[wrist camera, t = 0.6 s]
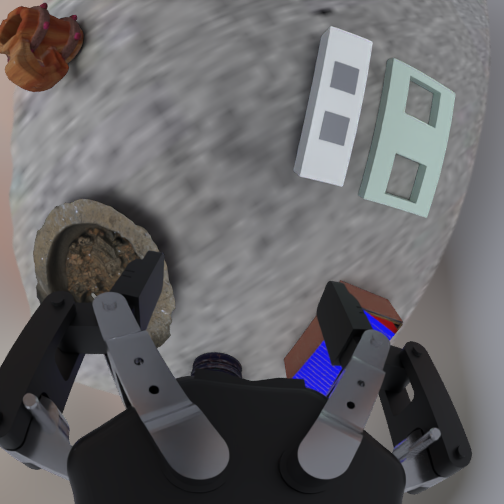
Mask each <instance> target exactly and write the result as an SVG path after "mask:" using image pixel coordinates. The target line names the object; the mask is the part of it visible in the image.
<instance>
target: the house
mask: <svg viewBox="0 0 504 504" xmlns="http://www.w3.org/2000/svg"><path fill="white" fill-rule="evenodd" d="M340 282H341V283H344V284H345V286H346V288H347V290H348V291H349V293H350V294H352V295H353V296H354V297H355V298H356V299H357V300H358V301H359V303H360V305H361V308H362V309H363V311H364V314H366V316H367V318H368V320H369V322H370V324H371V326H372V328H373V330H377V331H379V332H381V333H383V334H384V335H385V336H386V337H387V338H388V339H389V341H390V339H391V338H392V337H393V336H394V335H395V333H396V332H397V331H398V330H399V328H400V327H401V326H402V325H403V324H402V323H403V321H402V320H401V318H400V317H399V315H398V314H397V312H396V311H395V309H394V308H393V306H392V305H391V303H390V302H389V300H387V299H385V298H382V297H380V296H378V295H375V294H373V293H370V292H368V291H365V290H363V289H360V288H358V287H355V286H353V285H351V284H348V283H346V282H343V281H341V280H340ZM369 313H370V314H369ZM372 314H373V315H372ZM284 362H285V369H286V376H287V378H292V379H304V381H305V386H306V387H308V388H311V389H313V390H316V391H318V392H320V393H321V394H323V395H326V394H327V392H328V390H329V389H330V387H331V385H332V384H333V382H334V380H335V379H336V377H337V375H338V374H339V372H340V371H341V369H342V367H341V366H332V365H331V361H330V358H329V355H328V351H327V348H326V345H325V341H324V338H323V335H322V332H321V328H320V325H319V322H318V319H317V315H316V317H315V318H314V320H313V321H312V322H311V324H310V325H309V327H308V328H307V329H306V331H305V332H304V333H303V335H302V336H301V337H300V339H299V340H298V341H297V343H296V344H295V345H294V347H293V348H292V349H291V351H290V352H289V353H288V355H287V356H286V357H285V358H284Z"/></svg>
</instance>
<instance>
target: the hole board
mask: <svg viewBox="0 0 504 504" xmlns="http://www.w3.org/2000/svg"><path fill="white" fill-rule="evenodd" d="M410 81H412V82H414V83H416V84H418V85H419V86H421V87H423V88H425V89H427V90H428V91H430V92H432V93H433V100H432V107H431V113H430V118H429V124H426V123H424V122H422V121H420V120H418V119H416V118H414V117H412V116H410V115H408V114H406V113H404V112H405V107H406V101H407V95H408V89H409V82H410ZM454 100H455V93H454V92H452V91H451V90H449V89H448V88H446V87H445V86H443V85H442V84H440V83H439V82H437V81H435V80H434V79H432V78H430V77H429V76H427V75H425V74H424V73H422V72H420V71H418V70H417V69H415V68H413V67H411V66H409V65H407V64H405V63H403V62H401V61H400V60H398V59H395V58H392V59H389V60H387V66H386V72H385V79H384V85H383V90H382V96H381V101H380V107H379V112H378V117H377V121H376V126H375V131H374V135H373V139H372V144H371V148H370V152H369V156H368V160H367V164H366V168H365V172H364V176H363V179H362V183H361V187H360V190H359V194H358V195H359V196H360V197H362V198H363V199H366V200H370V201H374V202H377V203H381V204H384V205H388V206H391V207H394V208H398V209H401V210H404V211H407V212H410V213H414V214H417V215H420V216H423V217H426V218H427V215H428V212H429V209H430V206H431V203H432V200H433V197H434V193H435V190H436V187H437V183H438V179H439V176H440V172H441V168H442V164H443V160H444V156H445V151H446V147H447V142H448V137H449V132H450V126H451V121H452V114H453V108H454ZM395 154H398V155H400V156H403V157H405V158H407V159H410V160H412V161H415V162H417V163H419V168H418V172H417V176H416V179H415V183H414V186H413V190H412V193H411V196H410V200H407V199H404V198H401V197H398V196H395V195H392V194H389V193H386V192H385V191H386V188H387V184H388V180H389V177H390V173H391V169H392V166H393V162H394V158H395Z"/></svg>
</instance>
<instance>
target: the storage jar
mask: <svg viewBox="0 0 504 504" xmlns="http://www.w3.org/2000/svg"><path fill="white" fill-rule="evenodd" d="M195 368H199V369H205V370H212V371H219V372H224V373H227V374H230V375H233V376H236V377H239V378H242V374H241V372H242V368H241V364H240V363H239V361H238V360H236V359H235V358H234V357H232V356H230V355H227V354H224V353H217V352H211V353H206V354H202V355H200V356H199V357H197V358H196V359H195V361H194V363H193V369H192V372H191V376H194V374H195Z"/></svg>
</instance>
